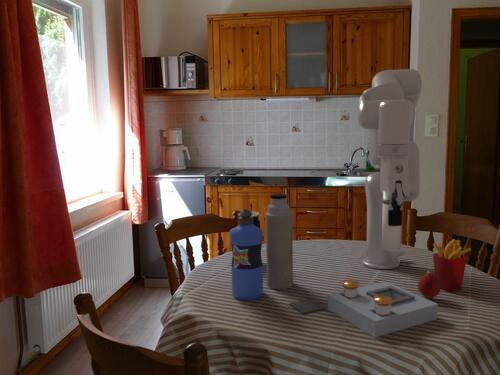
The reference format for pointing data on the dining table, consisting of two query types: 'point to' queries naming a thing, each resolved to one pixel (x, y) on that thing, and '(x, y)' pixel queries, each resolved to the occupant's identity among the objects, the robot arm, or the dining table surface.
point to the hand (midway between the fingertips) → (391, 222)
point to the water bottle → (246, 258)
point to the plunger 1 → (350, 289)
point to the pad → (307, 306)
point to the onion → (429, 286)
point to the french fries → (450, 265)
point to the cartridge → (389, 229)
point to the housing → (402, 316)
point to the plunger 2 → (382, 305)
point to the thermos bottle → (279, 243)
